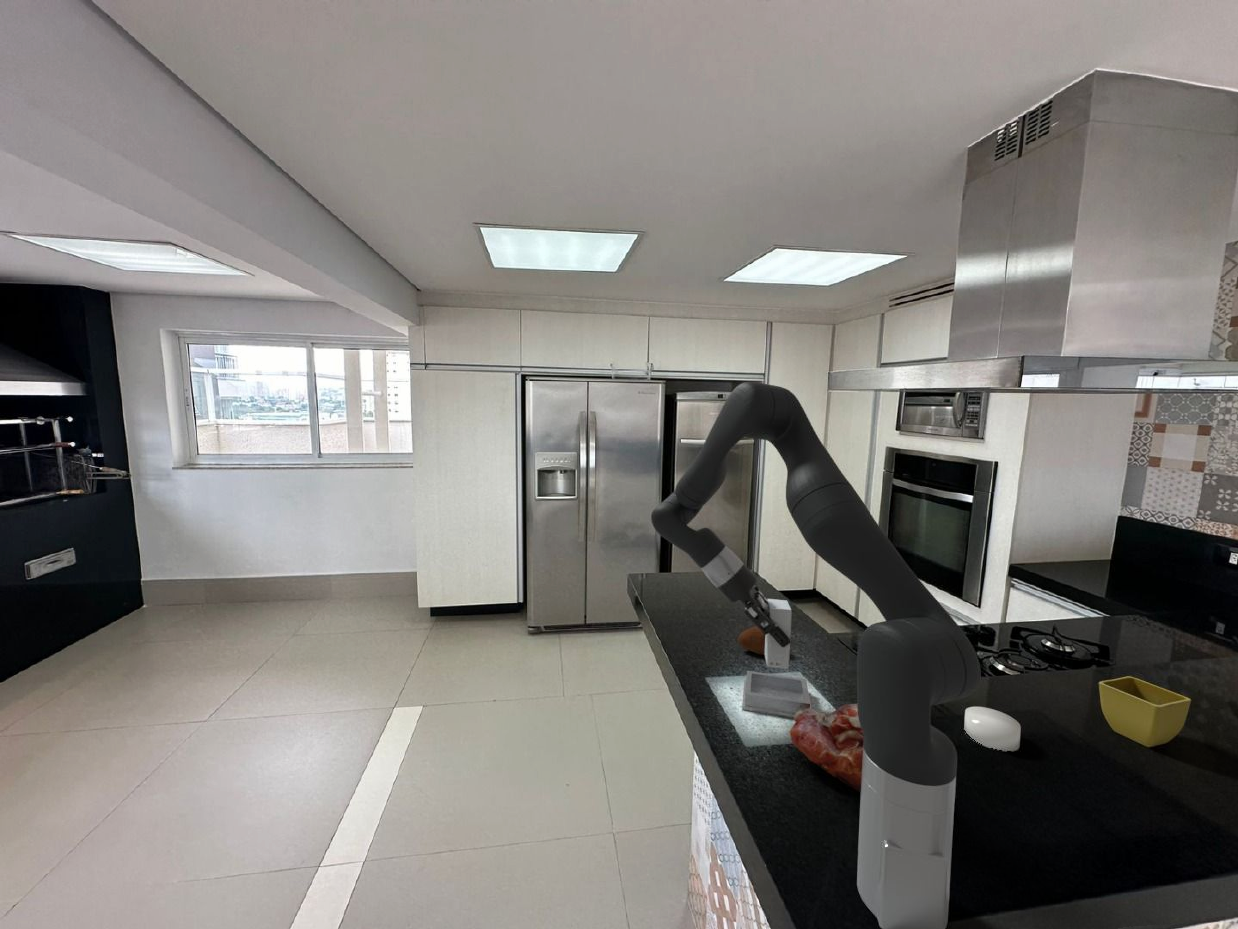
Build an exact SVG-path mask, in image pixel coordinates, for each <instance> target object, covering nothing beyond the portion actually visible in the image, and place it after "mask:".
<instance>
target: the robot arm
mask: <svg viewBox="0 0 1238 929" xmlns="http://www.w3.org/2000/svg"><path fill="white" fill-rule="evenodd" d="M744 438H748V439H754V440H755V439H756V440H763V441H768V442H769V443H771V445H772V446H773V447H774V448H775V449H776V451H777V452H778V454H779V456H780V457H781V459H782V460H783V462H784V464H785V466H786V470H787V473H786V474H787V475H786V482H785V483H786V485H785V502H786V506H787V509H788V512H789V514H790V516H791V517H792V519H793V522H794V523H795V525H796V526H797V528H798V531H799V532H800V533H801V535H802V537H803V538H804V540H805V542H806V544H808V546H809V547H810V548H811V550H812V551H813V552H814V553H815V554H816V555H818V556H819V557H820V558H821V559H822V560H824V562H826V563H827V564H828V565H829V566H831V567H832V568H834V569H835V570H837V571H838V572H839V573H840V574H842V575H843V576H844V577H846V578H847V579H848V580H849V581H851V582H852V583H853V584H854V585H856V586H857V587H859V589H861V591H863V592H864V593H865V594H866V595H867V597H868V598H869V599H870V600H871V602H872V603H874V605H875V607H876V608H877V609H878V611H879V613H881V616H883V619H884V620H885V621H879V622H875V623H872V624H871V625H869V626H868V627H867V628H865V630H864V631H863V632H862V633H861V637H860V639H859V642H858V646H857V653H856V654H857V655H856V691H857V692H856V694H857V695H856V700H857V701H856V702H857V703H856V704H857V710H858V718H859V722H860V726H861V729H862V732H863V760H862V779H861V793H860V799H859V800H860V803H859V821H858V822H859V823H858V824H859V826H858V828H859V829H858V844H857V845H858V846H857V849H858V850H857V852H858V853H857V873H856V875H857V877H856V886H857V891H858V893H859V896H860V898H861V900H862V902H863V903H864V904H865V906H866V907H867V908H868V909H869V910H870V912H871V913H872V914H873V915H874V917H875V918H877V922H878V925H879V927H880V928H881V929H946V928H947V925H948V919H949V908H950V907H949V906H950V905H949V904H950V903H949V902H950V888H951V887H950V885H951V884H950V883H951V869H952V867H951V866H952V851H953V850H952V848H953V834H954V833H953V831H954V819H955V818H954V816H955V815H954V813H955V799H956V786H957V782H956V781H957V772H958V771H957V769H958V752H957V749H956V746H955V744H954V743H953V741H952V740H951V739H950V737H948V736H947V735H946V734H945V733H944V732H942V731H941V730H940V729H939V728H936V727H935V726H933V725H932V724H931V723H932V722H931V720H932V719H931V713H932V712H931V711H932V710H931V708H932V707H933V706H937V705H941V704H946V703H949V702H954V701H958V700H961V699H965V698H967V697H969V696H971V695H972V694H974V693H975V692H976V691H977V689H978V687H979V686H980V682H981V677H982V676H981V671H982V670H981V664H980V661H979V660H980V659H979V658H978V655H977V653H976V650H975V648H974V645H972V643H971V641H970V640H969V638H968V637H967V635H966V634H965V632H964V631H963V629H962V628H961V626H959V624H958V623H957V621H955V619H953V617H952V616H951V615H950V613H949V612H947V610H946V609H945V608H944V607H943V605H941V603H940V602H939V601H938V600H937V598H936V597H935V596H934V595H933V594H932V592H931V591H930V590H929V589H928V588H927V586H925V585H924V584H923V582H922V581H921V580H920V579H919V578H918V576H917V575H916V574H915V573H914V571H913V570H912V569H911V568H910V566H909V564H908V563H907V562H906V561H905V559H903V557H902V555H901V554H900V553H899V551H898V550H897V549H896V547H895V546H894V544H893V543H892V542H891V540H890V539H889V537H888V536H887V535H886V534H885V532H884V531H883V529H882V528H881V527H880V526H879V524H878V522H877V521H876V520H875V518H874V517H873V515H872V513H871V512H870V510H869V508H868V506H867V505H866V504H865V503H864V501H863V500H862V498H861V497H860V495H859V494H858V492H857V490H855V488H854V487H853V485H852V484H851V483H850V482H849V480H848V479H847V478H846V476H845V475H844V473H843V472H842V471H841V469H840V468H839V466H838V465H837V464H836V462H835V460H834V458H833V457H832V456H831V454H830V453H829V451H828V449H826V447H825V445H824V444H823V443H822V441H821V439H820V438H819V437H818V434H817V432H816V431H815V429H814V427H813V425H812V423H811V421H810V419H809V417H808V415H807V414H806V412H805V409H804V408H803V406H802V404H801V402H800V400H799V398H797V397H796V395H795V394H794V393H793V392H792V391H791V390H789V389H787V388H785V387H783V386H778V385H774V384H768V383H762V382H754V381H744V382H742V383H740V384H738V385H737V386H736V387H735V388H734V389H733V390H732V391H731V392H730V394H729V395H728V397H727V398H726V400H725V401H724V404H723V406H722V407H721V409H720V412H719V413H718V416H717V417H716V420H715V422H714V423H713V425H712V427H711V429H710V431H709V433H708V435H707V437H706V439H705V441H704V443H703V445H702V447H701V448H700V451H699V453H698V454H697V456H696V457H695V459H694V460H693V462H692V463H691V464H690V466H689V467H688V468H687V469H686V471H685V472H683V473H684V474H682V476H681V478H680V479H679V480H678V481H677V483H676V486H675V488H674V490H673V492H672V493H670V495H669V496H668V497H666V498H665V499H664V500H663V501H662V502H661V503H659V504H658V505H656V507H655V508H653V510H652V512H651V514H650V520H651V524H652V527H653V528H654V530H655V532H657V534H659V535H660V536H661V537H662V538H663V539H665V540H666V541H667V542H669V543H671V544H672V545H674V546H675V547H677V548H678V549H679V550H682V551H683V552H684V553H685V554H687V555H688V556H689V557H690V558H691V559H692V561H693V562H694V563H695V564H696V565H697V566H698V567H699V568H700V569H701V571H702V572H703V573H704V575H705V576H706V577H707V579H708V580H709V581H710V582H711V583H712V584H713V585H714V587H715V588H716V589H717V590H718V591H719V592H720V593H721V594H722V596H724V598H725V599H726V600H727V601H728V602H729V603H731V604H733V603H737V601H740V602H741V603H742V605H743V608H744V614H745V615H746V616H747V617H748V618H749V620H751V621H752V623H753V624H755V626H756V627H758V628H759V629H760V630H761V631H762V632H763V633H764V634H765V635H767V634H770V635H771V636H772V637H773V638H774V639H775V640H776V641H777V642H778V644H779V645H780V646H781V647H785V646H787V645H788V644H789V643H790V644H791V641H792V640H791V637H790V638H789V637H788V636H787V635H786V634H785V633H784V632H783V630H782V629H781V628H780V627H779V626H778V625H777V623H776V622H775V621H774V620H773V619H772V618H771V613H770V611H769V609H768V607H767V603H768V601H767V599H769V598H768V596H766V595H765V594H764V592H763V591H762V590H761V589H760V588H759V586H758V585H756V584H757V581H758V577H757V576H756V575H755V574H754V573H753V572H752V570H750V569H749V567H748V566H747V565H746V564H745V563H744V562H743V561H742V559H740V558H739V557H738V555H736V553H734V551H732V550H731V549H730V548H729V547H728V546H726V545H725V543H724V542H723V541H722V540H721V539H720V538H719V537H718V536H717V535H716V534H715V532H714V531H713V530H711V529H710V528H708V527H703V528H700V529H698V530H695V529H694V528H692V527H690V526H689V524H690V523H691V522H692V521H693V520H694V519H695V517H696V516H697V515H698V514H699V513H700V511H701V509H702V508H703V506H704V505H706V504H707V503H708V502H709V501H710V500H711V498H712V497H714V495H715V494H716V493H717V492H718V490H719V489H720V488H721V487H722V486H723V484H724V481H725V480H726V477H727V469H728V456H729V453H730V452H731V450H732V448H734V447H735V445H737V444H738V443H739V442H740V441H741V440H742V439H744ZM766 622H767V623H768V625H767V626H766Z"/></svg>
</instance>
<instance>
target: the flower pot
mask: <svg viewBox="0 0 1238 929" xmlns="http://www.w3.org/2000/svg"><path fill="white" fill-rule="evenodd" d="M1098 690H1099V698H1100V706H1101V710H1102V713H1103V715H1104V718H1105V720H1106V722H1107V723H1108V725H1109V727H1110V728H1111V729H1112V730H1113V731H1114V732H1115V733H1117V734H1119V735H1121V736H1122V737H1123V736H1124V738H1128V739H1130V740H1132V741H1134V742H1136V743H1138V744H1141V745H1143V746H1144V747H1147V748H1151V747H1152V748H1153V747H1155V746H1156V747H1157V746H1159V745H1163V744H1167V743H1169V742H1170V741H1172V740H1173V739H1174V738H1175V737H1176V736H1177V735H1178V734H1179V733H1180V732H1181V730H1182V729H1183V727H1184V726H1185V724H1186V721H1187V716H1188V714H1189V713H1188V712H1189V710H1190V705H1191V702H1192V700H1191V698H1189V697H1187V696H1184V695H1182V694H1179V693H1177V692H1174V691H1171V690H1168V689H1166V688H1163V687H1161V686H1158V685H1155V684H1152V683H1150V682H1148V681H1144V680H1141V679H1140V678H1136V677H1133V676H1130V675H1129V676H1123V677H1119V678H1114V679H1107V680H1101V681H1099V682H1098Z"/></svg>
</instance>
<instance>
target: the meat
mask: <svg viewBox="0 0 1238 929" xmlns="http://www.w3.org/2000/svg"><path fill="white" fill-rule="evenodd" d="M793 719H794V722H795V723H794V725H793V726H792V728H790V730H789V735H790V740H791V742H792V744H793V745H794V747H795V748H796V749H798V750H799V752H801V753H802V754H803V755H804V756H805V757H807V759H808V761H811V762H812V763H814V764H816V765H817V766H818V767H820V768H821V769H822V770H824V771H825V772H827V773H828V774H830V775H831V776H832V777H834V778H836V779H837V780H839V781H841V782H842V783H843V784H845V785H847V786H848V787H850V788H853V789H855V790H856V791H858V792H859V793H860V794H861V779H862V760H863V732H862V729H861V726H860V722H859V718H858V710H857V703H847V704H843V705H841V706H840V707H839V708H837V709H835V711H832V712H830V713H829V714H827V715H826V714H825V713H824V712H818V711H816V710H815V709H814V708H813V707H811V708H807V709H805V710H804V711H801V710H800V711H798V712H796V714H795V717H794V718H793Z"/></svg>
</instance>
